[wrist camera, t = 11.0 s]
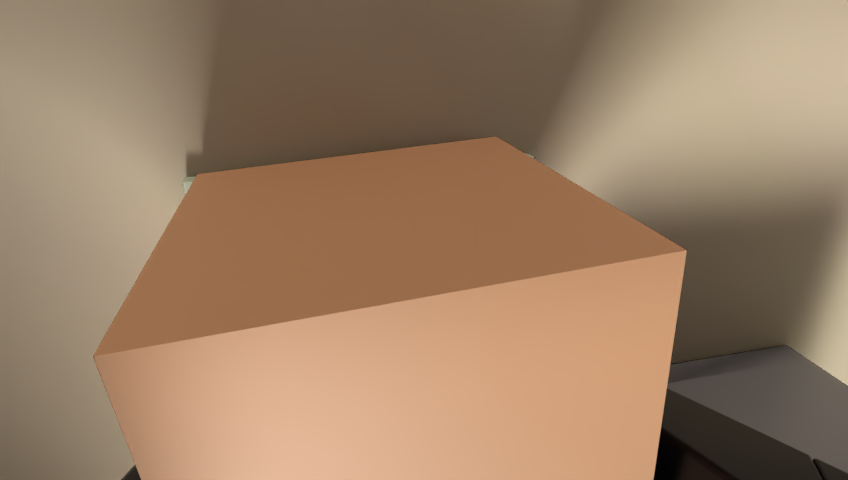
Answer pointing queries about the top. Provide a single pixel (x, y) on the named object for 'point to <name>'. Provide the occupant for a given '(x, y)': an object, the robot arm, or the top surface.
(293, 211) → the cube
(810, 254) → the top surface
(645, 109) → the top surface
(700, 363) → the well
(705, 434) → the robot arm
